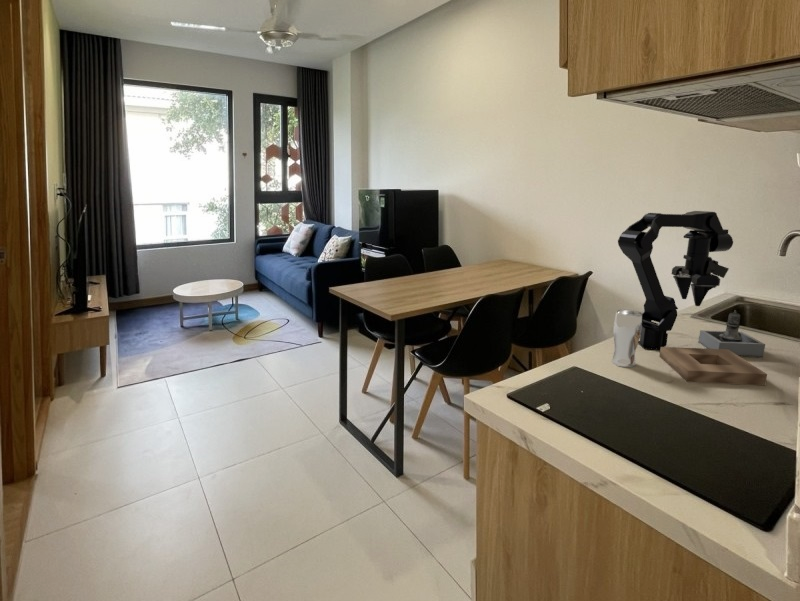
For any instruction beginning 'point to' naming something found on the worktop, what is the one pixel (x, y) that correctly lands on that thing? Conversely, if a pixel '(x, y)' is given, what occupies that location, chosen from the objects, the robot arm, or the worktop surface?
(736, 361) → the socket block
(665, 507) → the worktop surface
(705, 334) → the bin
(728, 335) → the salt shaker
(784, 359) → the worktop surface
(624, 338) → the beer glass
